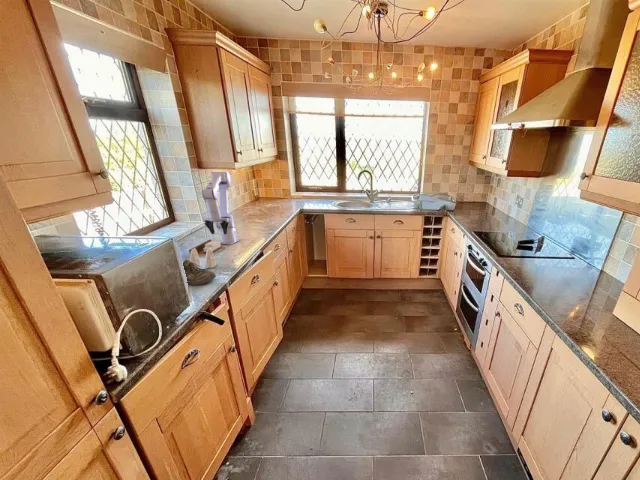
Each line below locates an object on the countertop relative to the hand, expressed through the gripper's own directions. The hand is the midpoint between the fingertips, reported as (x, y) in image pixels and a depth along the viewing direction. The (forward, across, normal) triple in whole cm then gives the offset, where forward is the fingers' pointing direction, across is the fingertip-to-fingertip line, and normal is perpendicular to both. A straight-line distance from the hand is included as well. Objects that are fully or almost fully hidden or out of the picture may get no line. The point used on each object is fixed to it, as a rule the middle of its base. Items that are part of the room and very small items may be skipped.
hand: (219, 233), depth 182 cm
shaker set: (+10, +7, -31) cm, 33 cm away
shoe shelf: (+9, -6, -3) cm, 12 cm away
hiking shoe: (+10, +12, -47) cm, 49 cm away
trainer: (+9, -4, -3) cm, 11 cm away
